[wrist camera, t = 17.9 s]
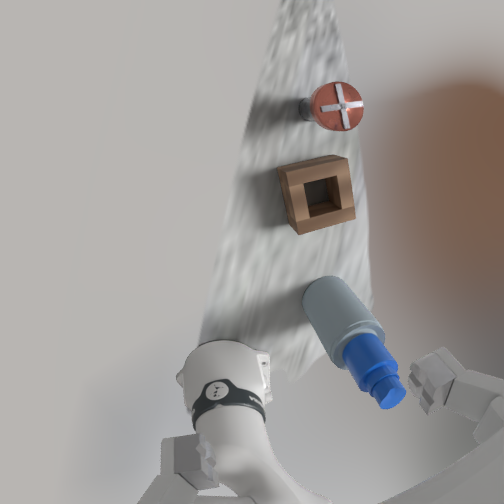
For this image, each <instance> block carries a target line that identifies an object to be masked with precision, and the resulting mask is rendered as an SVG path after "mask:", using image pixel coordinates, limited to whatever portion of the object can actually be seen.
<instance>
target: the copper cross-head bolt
mask: <svg viewBox="0 0 504 504" xmlns="http://www.w3.org/2000/svg"><path fill="white" fill-rule="evenodd" d="M363 109H364V108H363V101H362V99H361V96H360V95H359V93H358V92H357V90H356V89H355V88H353V87H352V86H351V85H349V84H347V83H344V82H332V83H328V84H325V85H322V86H320V87H318V88H317V89H316V90H315V91H314V93H313V94H312V96H311V97H309V98H305V99H303V100H302V101H301V103H300V105H299V113H300V115H301V116H302V117H303V118H304V119H305V120H308V121H316V122H317V123H318V124H319V125H320V126H321V127H323V128H325V129H327V130H333V131H348V130H351V129H353V128H354V127H356V126H357V125H358V123H359V122H360V120H361V118H362V116H363Z"/></svg>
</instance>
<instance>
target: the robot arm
mask: <svg viewBox="0 0 504 504" xmlns="http://www.w3.org/2000/svg"><path fill="white" fill-rule="evenodd" d="M410 370H411V371H412V372H411V374H410V375H409V377H408V385H409V388H410V391H411V393H412V394H413V396H415V397H417V398H420V406H421V407H422V408H423V410H424V411H425V413H426V414H427V415H429V414H431V413H433V412H435V411H436V410H438V409H440V408H442V407H445V408H447V409H449V410H451V411H453V412H456V413H458V414H460V415H462V416H464V417H466V418H468V419H470V420H473V421H475V422H477V423H479V424H478V425H477V427H476V429H475V431H474V433H473V437H474V438H475V440H476V441H477V443H478V444H479V446H478V447H476V448H475V449H474V450H472V451H471V452H469V453H468V454H467V455H465V456H464V457H462V458H461V459H459V460H458V461H456V462H455V463H453V464H452V465H450V466H448V467H447V468H445V469H444V470H442V471H440V472H439V473H437V474H436V475H434V476H432V477H430V478H429V479H427V480H425V481H423V482H421V483H419V484H418V485H416V486H414V487H412V488H410V489H408V490H406V491H404V492H402V493H400V494H398V495H396V496H394V497H392V498H390V499H388V500H385V501H383V502H381V503H379V504H504V379H500V378H497V377H493V376H489V375H486V374H483V373H479V372H476V371H472V370H468V371H466V370H465V368H464V367H463V366H462V365H461V364H460V363H459V362H458V361H457V360H456V359H455V358H454V356H452V354H451V353H450V352H449V351H448V350H447V349H446V348H444V347H441V348H439V349H437V350H436V351H434V352H431V353H430V354H427V355H426V356H424V357H422V358H420V359H418V360H416V361H414V362H413V363H412V364H411V366H410ZM176 380H177V382H178V383H179V384H180V385H181V386H182V387H183V391H184V403H185V406H186V407H188V408H189V409H190V410H191V411H192V422H193V428H194V430H195V431H196V434H192V435H186V436H179V437H171V438H164V439H163V440H162V442H161V475H157V476H156V478H155V479H154V481H153V482H152V483H151V485H150V486H149V488H148V489H147V491H146V492H145V493H144V495H143V496H142V497H141V499H140V500H139V502H138V503H137V504H333V503H332V502H331V501H330V500H329V499H328V498H326V497H324V496H322V495H319V494H316V493H314V492H312V491H310V490H308V489H306V488H305V487H303V486H302V485H300V484H299V483H298V482H297V481H295V480H294V479H293V478H292V477H291V476H290V475H289V474H288V473H287V472H286V471H285V470H284V468H283V467H282V466H281V465H280V463H279V462H278V460H277V458H276V457H275V454H274V452H273V450H272V447H271V444H270V441H269V438H268V435H267V431H266V428H265V405H266V404H267V403H268V402H271V401H272V394H271V391H270V357H269V354H268V353H267V352H264V351H258V350H253V349H251V348H250V347H248V346H246V345H244V344H242V343H239V342H235V341H228V340H221V341H213V342H209V343H206V344H203V345H201V346H199V347H198V348H196V349H195V350H194V351H192V352H191V353H190V355H189V356H188V357H187V359H186V362H185V365H184V367H183V369H182V370H181V371H180V372H179V373H178V374H177V375H176ZM219 483H222V484H224V485H226V486H227V487H229V488H230V489H231V490H233V491H234V492H235V493H236V494H237V495H238V497H222V496H201V495H197V494H198V490H204V489H211V488H217V487H219Z"/></svg>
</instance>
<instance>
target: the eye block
mask: <svg viewBox="0 0 504 504" xmlns="http://www.w3.org/2000/svg"><path fill="white" fill-rule="evenodd" d="M277 170H278V175H279V179H280V184H281V188H282V193H283V197H284V202H285V207H286V211H287V216H288V221H289V224H290V226H291V227H292V228H293V229H294V230H295V231H296V232H297V234H298V235H301V234H304V233H308V232H311V231H315V230H318V229H322V228H325V227H329V226H332V225H336V224H339V223H343V222H346V221H350V220H353V219H356V216H355V207H354V199H353V192H352V185H351V178H350V171H349V165H348V159H347V158H344V157H340V156H336V155H329V156H324V157H320V158H315V159H311V160H307V161H302V162H298V163H294V164H289V165H285V166H281V167H277ZM324 178H325V181H326V187H327V193H328V199H329V201H326V202H322V203H318V204H314V205H311V206H307V200H306V195H305V190H304V185H303V183H307V182H311V181H315V180H319V179H324Z"/></svg>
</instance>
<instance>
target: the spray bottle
mask: <svg viewBox="0 0 504 504" xmlns="http://www.w3.org/2000/svg"><path fill="white" fill-rule="evenodd" d="M302 305H303V309H304V311H305V313H306V315H307V317H308V319H309V320H310V322H311V324H312V326H313V328H314V330H315V331H316V333H317V335H318V337H319V339H320V341H321V343H322V344H323V346H324V348H325V350H326V352H327V354H328V356H329V357H330V359H331V361H332V362H333V363H334V364H335V365H336V366H337V367H338V368H341V369H344V370H349V371H350V373H351V375H352V376H353V378H354V380H355V382H356V383H357V385H358V387H359V388H360V389H361V391H364V392H369V394H370V395H371V396H372V397H375V399H376V401H377V402H378V404H379V406H380V407H381V408H382V409H390V408H392V407H394V406H396V405H397V404H398V403H399V402H400V401H401V400H402V399H403V398H404V397H405V395H406V390H405V388H404V387H403V385H402V384H401V383H400V381H399V376H398V375H397V370H398V365H397V362H396V361H395V360H394V358H393V357H392V356H391V354H390V353H389V352H388V351H387V349H386V348H385V346H384V341H385V333H384V331H383V328H382V327H381V325H380V323H379V322H378V321H377V320H376V319H375V317H374V316H373V315H372V314H371V313H370V311H369V310H368V309H367V308H366V307H365V305H364V304H363V303H362V302H361V301H360V299H359V298H358V297H357V296H356V295H355V293H354V292H353V291H352V290H351V289H350V288H349V286H348V285H347V284H346V283H345V282H344V281H343V280H342V279H340V278H339V277H335V276H325V277H322V278H320V279H317V280H316V281H314V282H313V283H312V284H310V286H309V287H308V288H307V289H306V291H305V293H304V295H303V299H302Z"/></svg>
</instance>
